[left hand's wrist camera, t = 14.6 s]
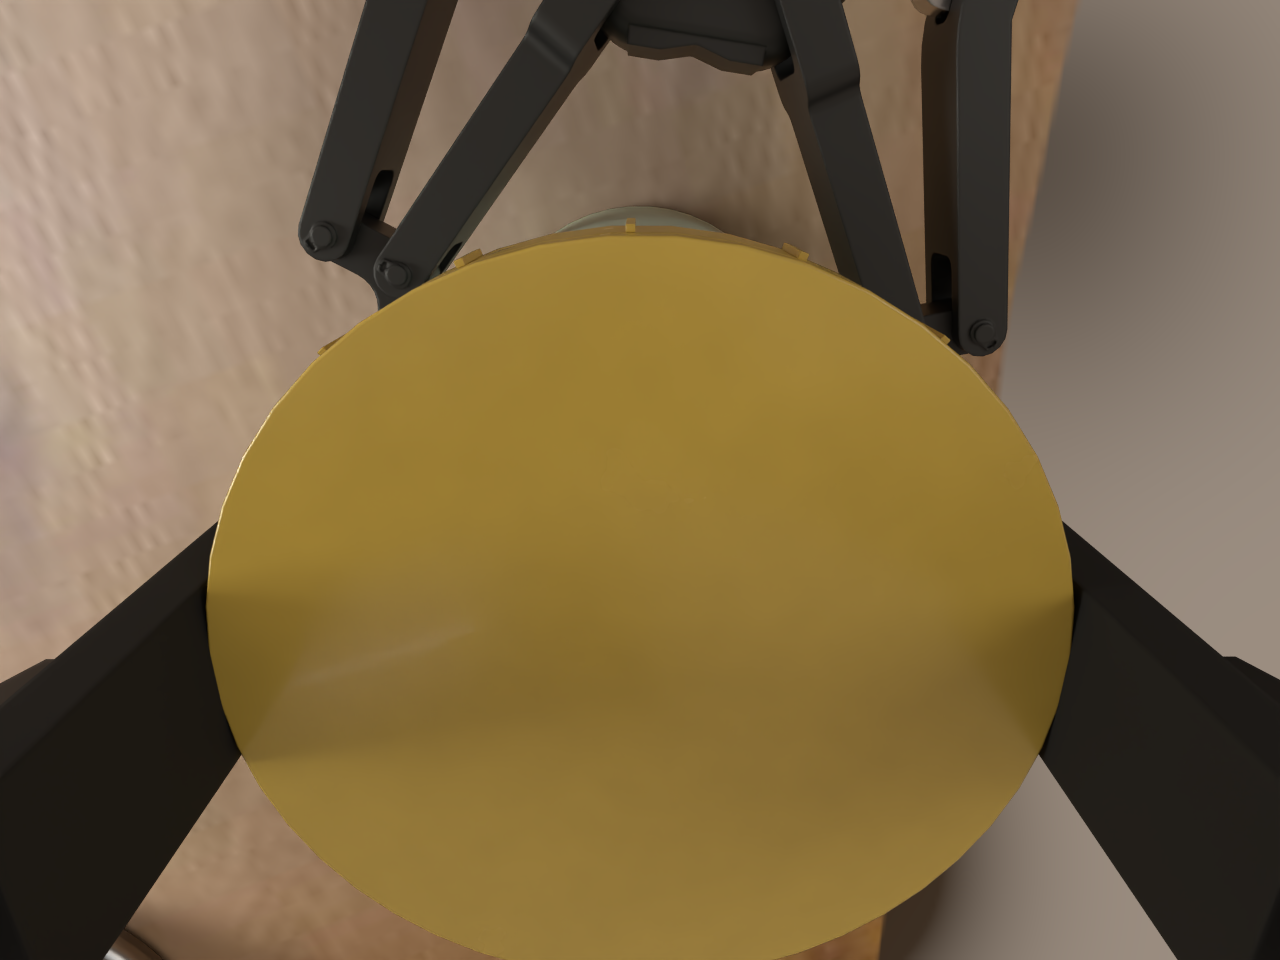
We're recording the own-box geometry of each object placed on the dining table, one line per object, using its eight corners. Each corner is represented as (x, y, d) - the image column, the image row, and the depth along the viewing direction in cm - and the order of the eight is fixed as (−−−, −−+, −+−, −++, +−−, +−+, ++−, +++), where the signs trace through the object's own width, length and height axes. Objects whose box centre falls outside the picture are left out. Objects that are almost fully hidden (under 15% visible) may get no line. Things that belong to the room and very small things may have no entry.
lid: (1030, 838, 14) (1079, 924, 12) (390, 932, 14) (361, 1023, 13) (1013, 137, 10) (1086, 131, 8) (128, 320, 10) (39, 347, 9)
